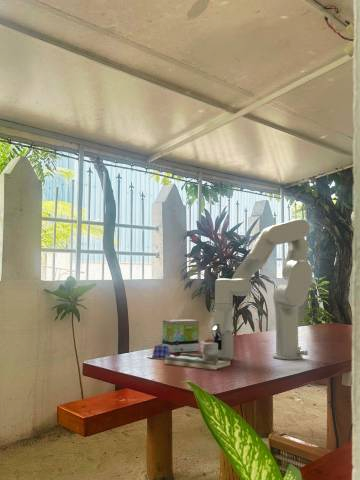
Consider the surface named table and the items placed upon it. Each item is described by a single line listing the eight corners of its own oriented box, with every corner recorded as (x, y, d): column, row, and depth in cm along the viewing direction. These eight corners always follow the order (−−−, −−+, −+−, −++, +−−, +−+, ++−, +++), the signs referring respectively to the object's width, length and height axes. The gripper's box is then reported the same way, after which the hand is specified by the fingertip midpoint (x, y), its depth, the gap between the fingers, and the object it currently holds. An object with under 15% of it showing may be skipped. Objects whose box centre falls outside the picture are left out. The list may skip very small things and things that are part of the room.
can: (214, 358, 191) (214, 330, 193) (231, 358, 192) (231, 329, 193) (217, 361, 184) (217, 331, 185) (235, 361, 185) (234, 331, 186)
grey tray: (230, 364, 176) (230, 342, 176) (214, 369, 165) (214, 346, 166) (182, 359, 188) (182, 339, 189) (164, 363, 178) (164, 341, 179)
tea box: (172, 353, 206) (172, 321, 207) (161, 350, 214) (161, 319, 216) (199, 350, 214) (199, 319, 215) (187, 348, 222) (187, 318, 224)
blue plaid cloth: (177, 356, 200) (177, 344, 200) (172, 360, 188) (172, 347, 188) (150, 355, 201) (150, 343, 202) (144, 359, 190) (144, 347, 190)
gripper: (225, 306, 199) (225, 345, 198) (205, 307, 185) (205, 349, 183) (240, 307, 195) (240, 347, 193) (221, 308, 181) (221, 351, 179)
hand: (223, 348), depth 188 cm, fingers open, 9 cm apart
